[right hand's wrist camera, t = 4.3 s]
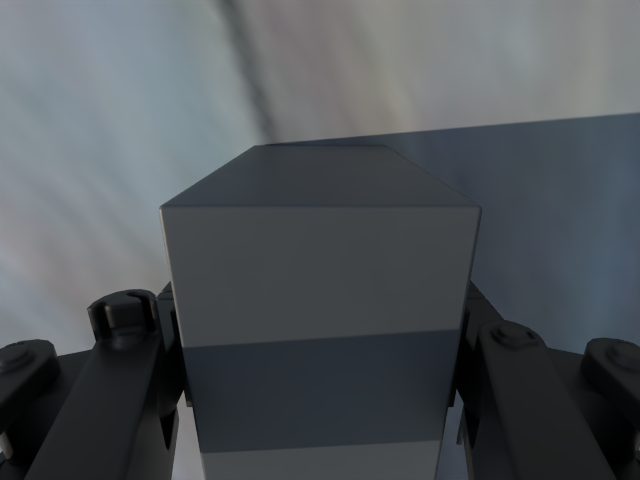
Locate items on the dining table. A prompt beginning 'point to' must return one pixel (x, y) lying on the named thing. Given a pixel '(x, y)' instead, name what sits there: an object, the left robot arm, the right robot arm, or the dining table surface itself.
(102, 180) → the dining table surface
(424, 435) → the bar
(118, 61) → the dining table surface
